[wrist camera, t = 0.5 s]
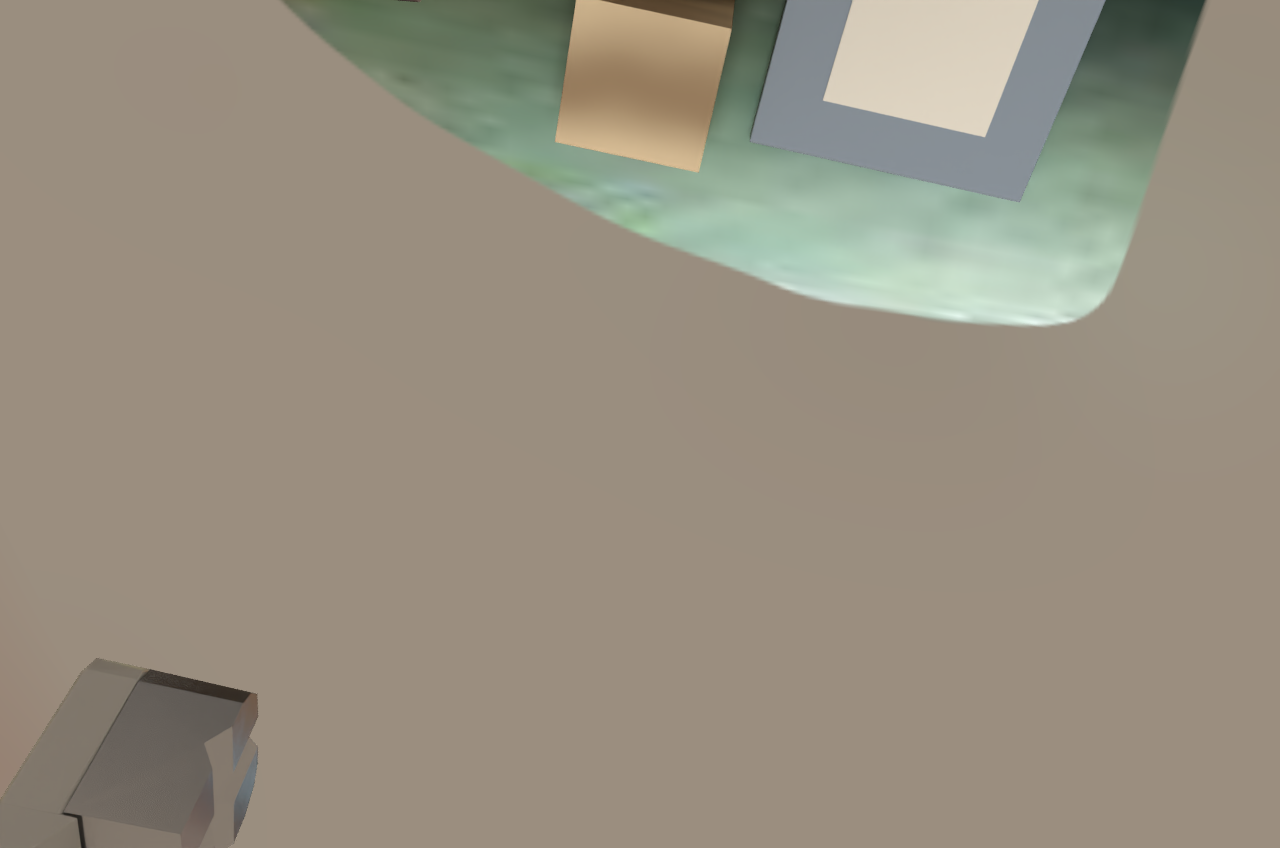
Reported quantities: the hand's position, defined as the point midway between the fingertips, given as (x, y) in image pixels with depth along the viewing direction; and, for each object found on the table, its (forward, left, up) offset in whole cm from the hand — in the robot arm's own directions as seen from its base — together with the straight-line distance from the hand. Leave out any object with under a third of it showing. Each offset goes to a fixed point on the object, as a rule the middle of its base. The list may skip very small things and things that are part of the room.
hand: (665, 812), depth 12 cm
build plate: (+4, +9, -42) cm, 43 cm away
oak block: (+8, -2, -43) cm, 43 cm away
